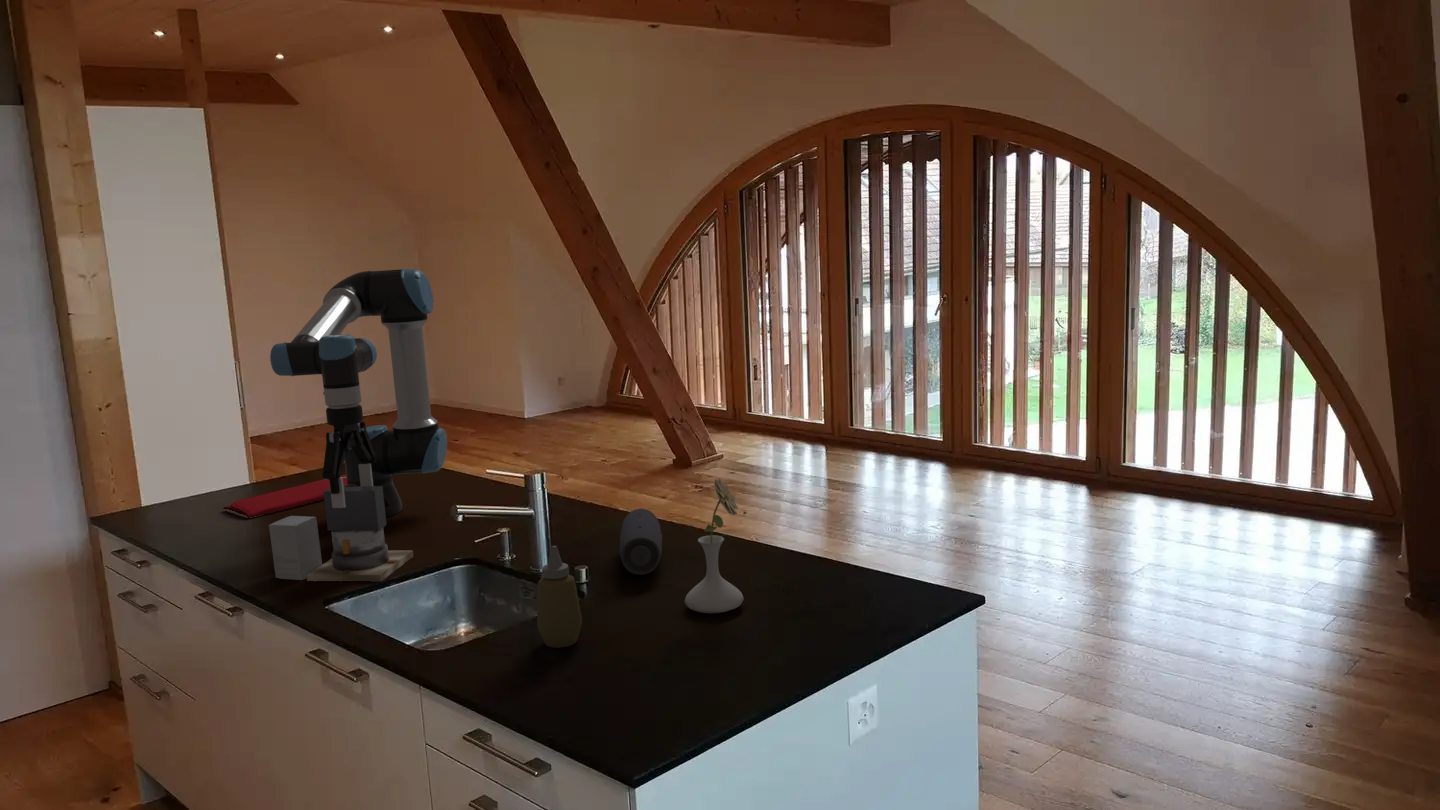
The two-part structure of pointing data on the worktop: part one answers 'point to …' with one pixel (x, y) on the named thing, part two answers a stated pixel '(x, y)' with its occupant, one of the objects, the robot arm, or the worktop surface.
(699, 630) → the worktop surface
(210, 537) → the worktop surface
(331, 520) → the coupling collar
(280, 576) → the supplement box
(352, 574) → the post board
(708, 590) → the flower in vase
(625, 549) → the bluetooth speaker
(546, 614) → the squeeze bottle
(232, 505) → the dish drying mat
